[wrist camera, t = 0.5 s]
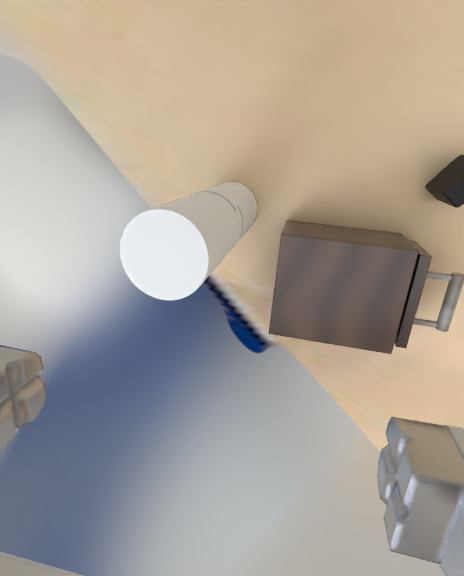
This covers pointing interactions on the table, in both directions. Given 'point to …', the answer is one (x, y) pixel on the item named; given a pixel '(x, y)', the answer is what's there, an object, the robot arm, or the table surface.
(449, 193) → the ink cartridge
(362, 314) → the cabinet
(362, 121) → the table surface
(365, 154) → the table surface
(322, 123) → the table surface
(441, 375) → the table surface
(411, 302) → the drawer
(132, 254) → the cylindrical container
